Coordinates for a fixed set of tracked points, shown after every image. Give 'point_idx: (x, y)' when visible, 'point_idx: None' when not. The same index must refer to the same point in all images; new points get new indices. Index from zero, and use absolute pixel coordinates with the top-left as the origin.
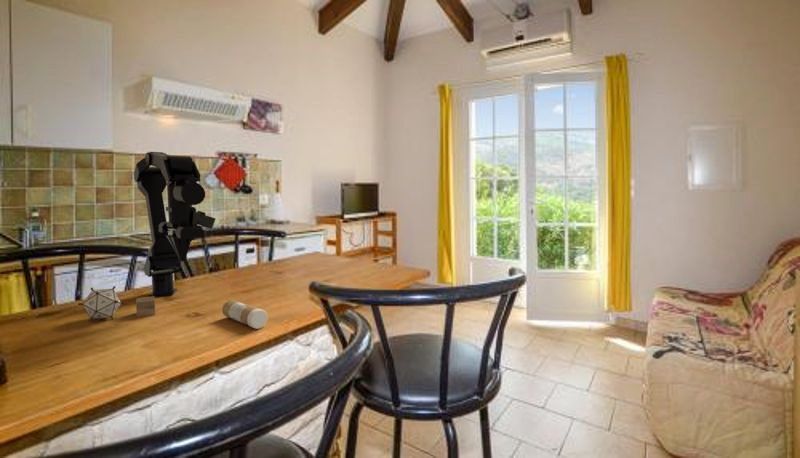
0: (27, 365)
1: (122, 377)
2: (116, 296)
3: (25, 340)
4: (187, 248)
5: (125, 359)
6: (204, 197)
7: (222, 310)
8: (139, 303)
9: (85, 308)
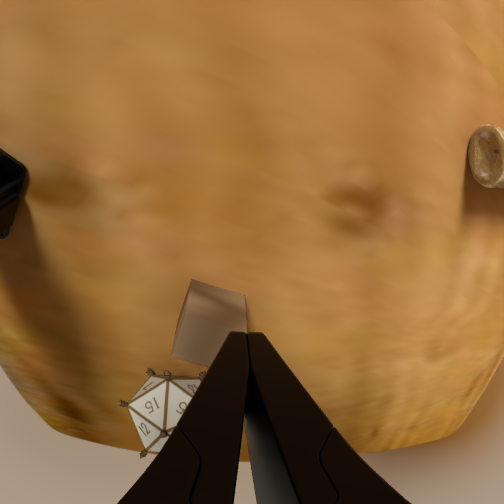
0: None
1: (480, 383)
2: (176, 409)
3: None
4: (336, 443)
5: (447, 380)
6: None
7: (484, 186)
8: None
9: None
